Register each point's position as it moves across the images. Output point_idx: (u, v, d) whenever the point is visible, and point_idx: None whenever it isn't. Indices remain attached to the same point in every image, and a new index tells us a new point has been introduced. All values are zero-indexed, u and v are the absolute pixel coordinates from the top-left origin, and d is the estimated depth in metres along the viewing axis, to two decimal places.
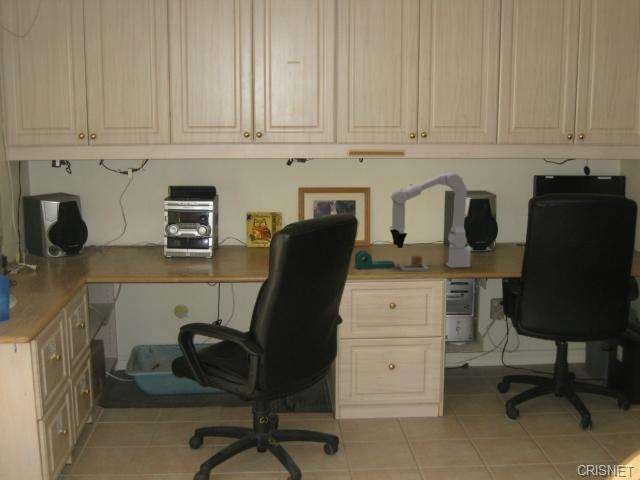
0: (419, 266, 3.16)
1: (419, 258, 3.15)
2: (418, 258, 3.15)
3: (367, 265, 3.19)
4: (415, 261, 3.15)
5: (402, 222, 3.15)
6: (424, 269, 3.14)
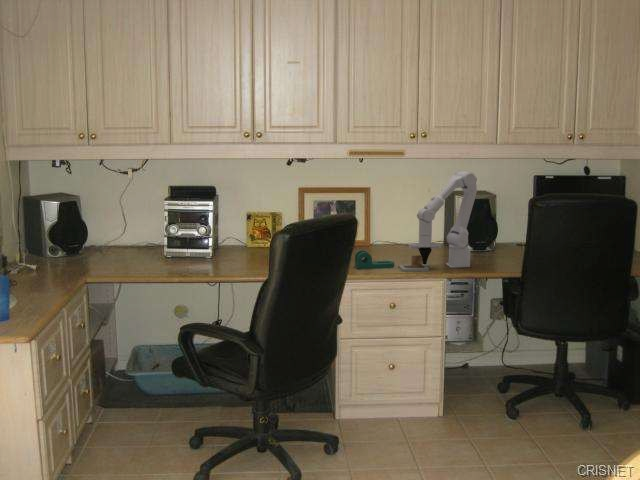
0: (419, 266, 3.16)
1: (419, 258, 3.15)
2: (418, 258, 3.15)
3: (367, 265, 3.19)
4: (415, 260, 3.15)
5: (420, 239, 3.15)
6: (424, 269, 3.14)
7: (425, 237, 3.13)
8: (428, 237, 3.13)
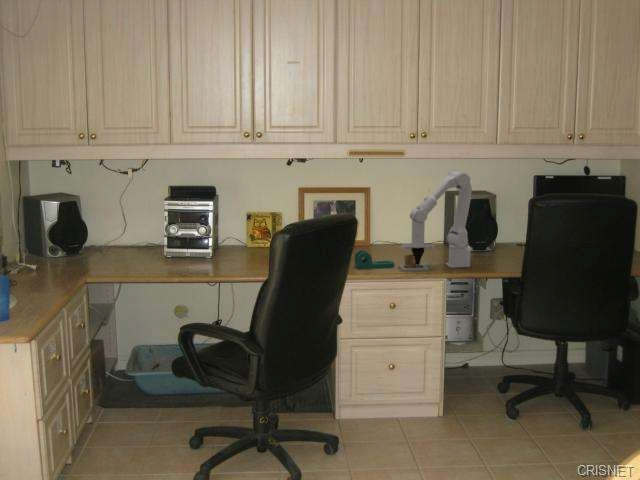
0: (413, 265, 3.16)
1: (411, 257, 3.15)
2: (410, 257, 3.15)
3: (366, 265, 3.19)
4: (408, 260, 3.15)
5: (413, 240, 3.14)
6: (424, 269, 3.14)
7: (418, 237, 3.13)
8: (421, 237, 3.13)
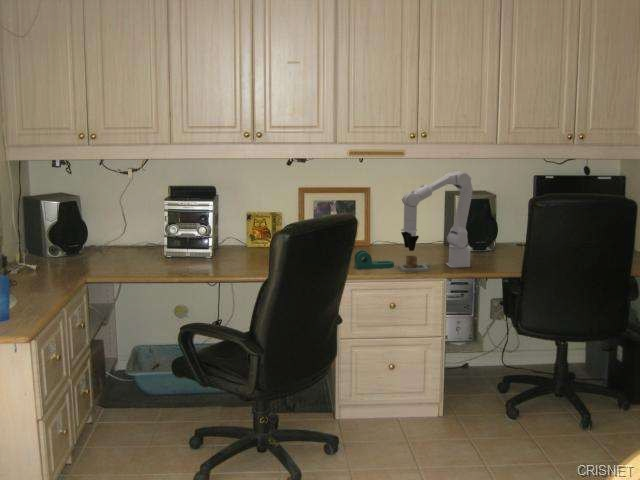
0: (414, 266, 3.16)
1: (414, 258, 3.15)
2: (413, 258, 3.15)
3: (366, 265, 3.19)
4: (409, 261, 3.15)
5: (414, 225, 3.12)
6: (424, 269, 3.14)
7: (416, 221, 3.13)
8: None
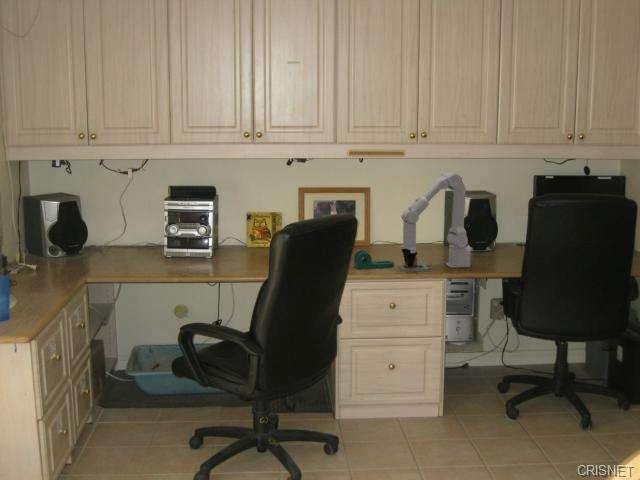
0: (414, 266, 3.16)
1: None
2: None
3: (366, 265, 3.19)
4: None
5: (413, 241, 3.13)
6: (424, 269, 3.14)
7: (415, 238, 3.15)
8: None
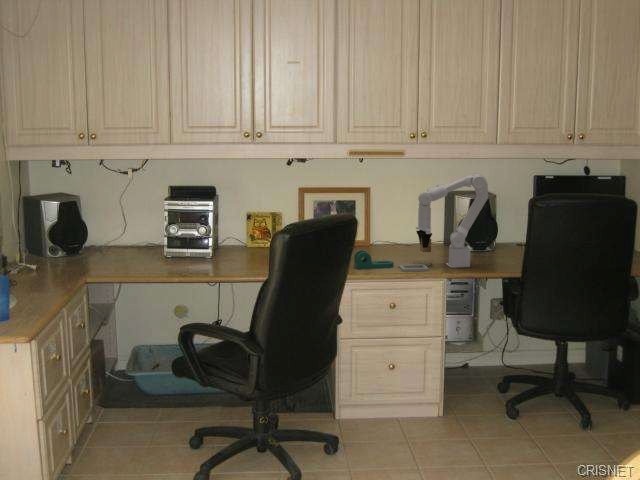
0: (428, 248, 3.23)
1: None
2: None
3: (366, 265, 3.19)
4: None
5: (428, 223, 3.20)
6: (424, 269, 3.14)
7: (430, 219, 3.22)
8: None
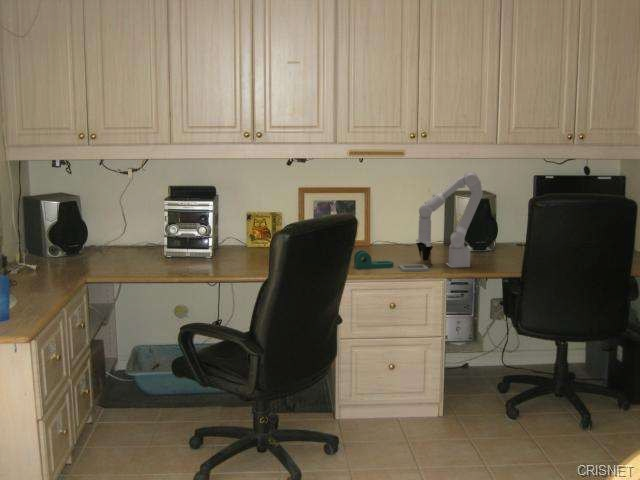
0: (428, 261, 3.25)
1: None
2: None
3: (366, 265, 3.19)
4: None
5: (428, 235, 3.22)
6: (424, 269, 3.14)
7: (430, 232, 3.23)
8: None
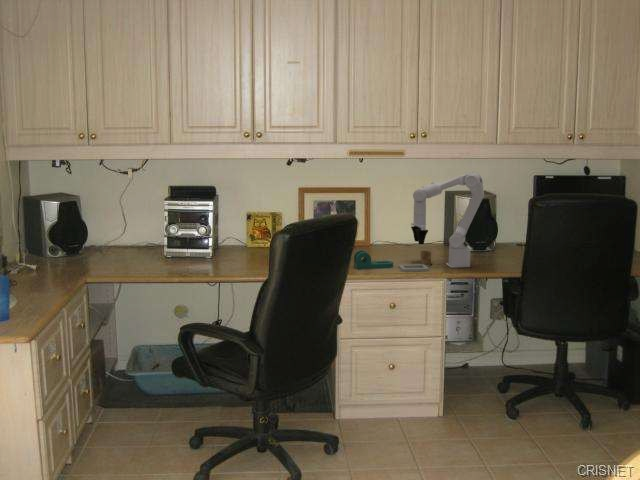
0: (428, 261, 3.25)
1: (428, 253, 3.24)
2: (427, 253, 3.24)
3: (366, 265, 3.19)
4: (424, 255, 3.24)
5: (423, 219, 3.24)
6: (424, 269, 3.14)
7: (425, 216, 3.26)
8: None
